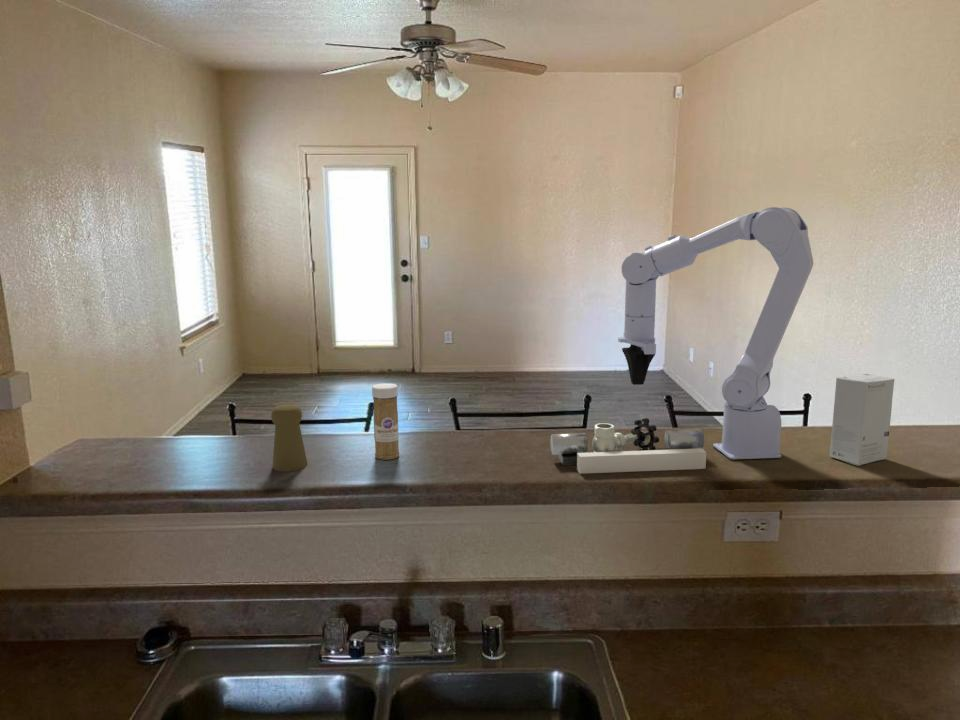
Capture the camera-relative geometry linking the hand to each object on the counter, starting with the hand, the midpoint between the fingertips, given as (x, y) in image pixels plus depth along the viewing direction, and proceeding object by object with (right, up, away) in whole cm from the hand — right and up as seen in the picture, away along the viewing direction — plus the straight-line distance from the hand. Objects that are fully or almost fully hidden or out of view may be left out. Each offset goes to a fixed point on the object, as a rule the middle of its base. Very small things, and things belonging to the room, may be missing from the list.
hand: (637, 383), depth 137 cm
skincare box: (+36, -13, -13) cm, 41 cm away
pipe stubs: (-5, -13, -12) cm, 18 cm away
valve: (-6, -13, -11) cm, 18 cm away
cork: (-65, -14, -14) cm, 68 cm away
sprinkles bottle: (-48, -13, -10) cm, 51 cm away
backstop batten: (-3, -14, -17) cm, 23 cm away
